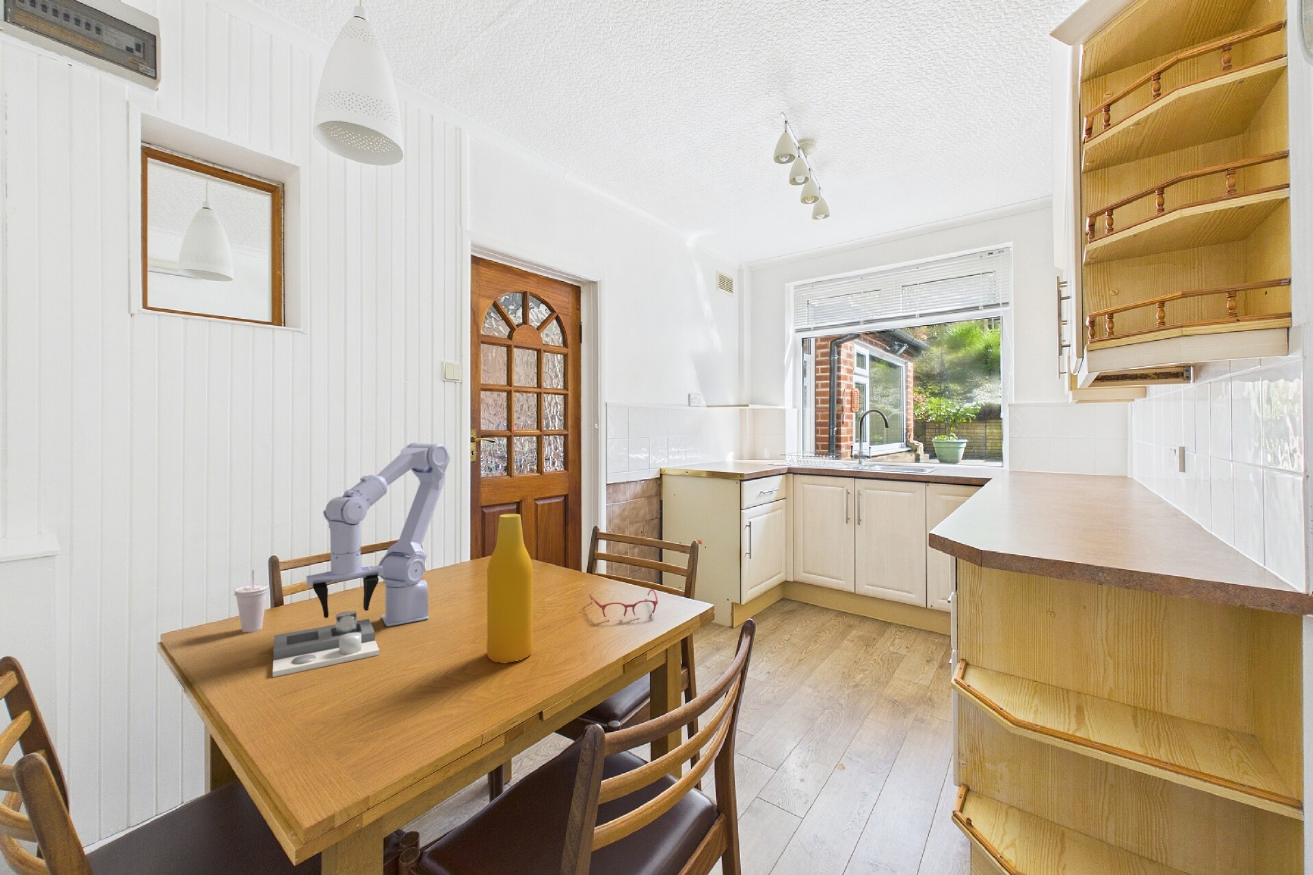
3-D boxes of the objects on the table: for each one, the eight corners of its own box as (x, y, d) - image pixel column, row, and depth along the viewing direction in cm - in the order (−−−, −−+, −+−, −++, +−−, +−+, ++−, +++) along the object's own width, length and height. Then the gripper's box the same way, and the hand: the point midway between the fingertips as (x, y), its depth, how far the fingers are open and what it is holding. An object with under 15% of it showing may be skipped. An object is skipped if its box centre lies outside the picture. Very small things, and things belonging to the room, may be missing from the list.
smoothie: (250, 635, 122) (249, 574, 122) (227, 633, 123) (226, 572, 123) (275, 625, 128) (275, 566, 128) (253, 623, 129) (252, 565, 129)
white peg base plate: (375, 645, 117) (375, 626, 117) (379, 654, 112) (379, 635, 112) (273, 665, 107) (273, 645, 107) (272, 677, 102) (272, 655, 102)
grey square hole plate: (369, 629, 126) (369, 618, 126) (374, 643, 118) (374, 632, 118) (274, 646, 116) (274, 635, 116) (273, 663, 108) (273, 651, 108)
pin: (354, 636, 122) (354, 609, 122) (358, 641, 119) (358, 614, 119) (334, 640, 119) (334, 613, 119) (337, 646, 116) (337, 618, 116)
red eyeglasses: (594, 625, 130) (594, 604, 130) (587, 604, 146) (587, 585, 146) (664, 619, 134) (664, 599, 134) (650, 599, 150) (650, 581, 150)
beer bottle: (477, 659, 110) (476, 517, 109) (505, 643, 118) (505, 510, 118) (515, 667, 106) (515, 520, 106) (541, 649, 115) (541, 513, 114)
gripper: (378, 543, 126) (379, 601, 127) (304, 552, 118) (305, 614, 118) (384, 549, 121) (385, 609, 121) (307, 559, 112) (308, 624, 112)
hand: (346, 612), depth 119 cm, fingers open, 7 cm apart
